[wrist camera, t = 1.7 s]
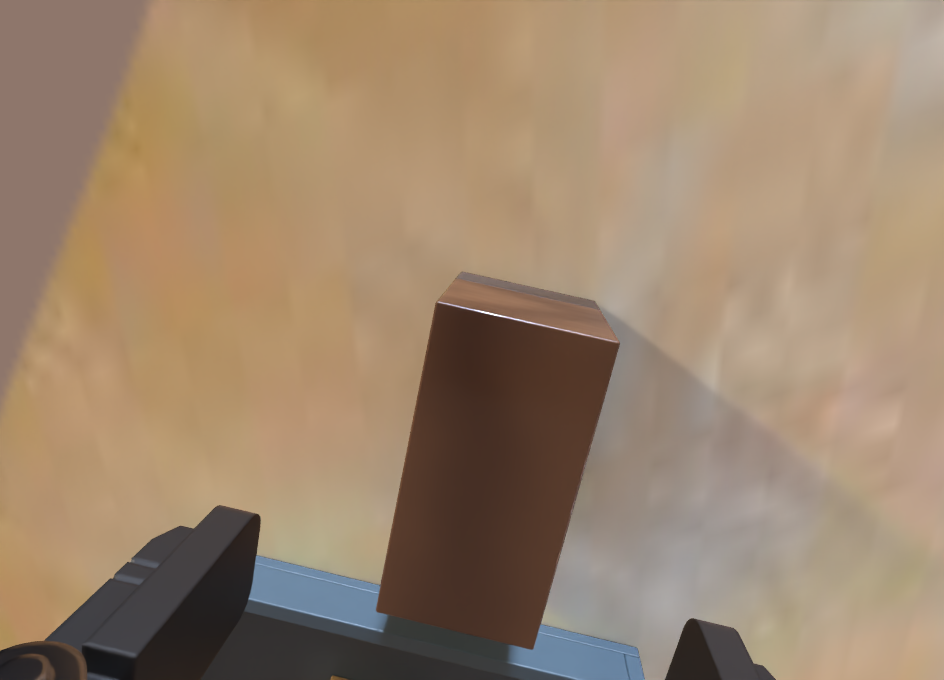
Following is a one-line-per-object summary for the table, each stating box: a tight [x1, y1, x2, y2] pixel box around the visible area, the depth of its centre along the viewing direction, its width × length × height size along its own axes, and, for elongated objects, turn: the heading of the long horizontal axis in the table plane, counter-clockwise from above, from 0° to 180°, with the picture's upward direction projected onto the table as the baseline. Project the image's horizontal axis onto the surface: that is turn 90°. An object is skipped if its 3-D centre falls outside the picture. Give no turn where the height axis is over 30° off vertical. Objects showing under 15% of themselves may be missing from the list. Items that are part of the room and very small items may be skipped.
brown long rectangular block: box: [376, 272, 620, 650], centre depth 18 cm, size 4×9×6 cm, turn 168°
